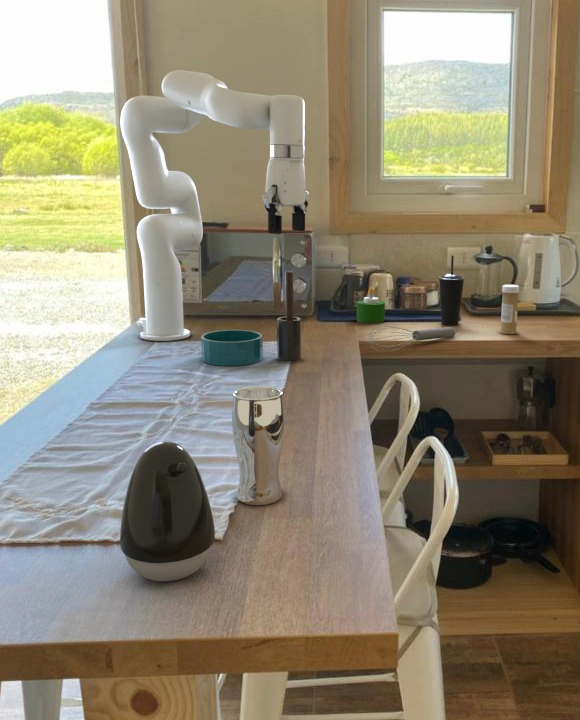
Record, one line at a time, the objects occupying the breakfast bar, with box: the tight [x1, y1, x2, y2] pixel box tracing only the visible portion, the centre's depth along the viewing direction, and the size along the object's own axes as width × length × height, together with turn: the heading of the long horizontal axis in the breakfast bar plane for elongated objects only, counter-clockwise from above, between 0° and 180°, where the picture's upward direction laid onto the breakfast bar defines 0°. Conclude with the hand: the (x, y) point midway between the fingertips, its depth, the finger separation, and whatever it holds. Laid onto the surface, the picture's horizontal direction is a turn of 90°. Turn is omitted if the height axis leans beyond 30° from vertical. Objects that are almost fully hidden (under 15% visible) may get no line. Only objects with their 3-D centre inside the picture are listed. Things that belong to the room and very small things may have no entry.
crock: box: [276, 316, 302, 363], centre depth 187 cm, size 5×6×10 cm
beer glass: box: [231, 385, 285, 506], centre depth 110 cm, size 7×7×15 cm
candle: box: [356, 286, 386, 324], centre depth 237 cm, size 8×8×10 cm
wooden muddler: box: [284, 270, 295, 320], centre depth 186 cm, size 2×2×20 cm
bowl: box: [200, 329, 264, 367], centre depth 186 cm, size 14×14×6 cm
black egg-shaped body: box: [119, 441, 216, 582], centre depth 89 cm, size 10×10×15 cm
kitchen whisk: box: [366, 325, 459, 353], centre depth 207 cm, size 6×34×6 cm, turn 136°
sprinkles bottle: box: [499, 284, 520, 335], centre depth 223 cm, size 5×5×13 cm
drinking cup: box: [438, 254, 466, 326], centre depth 234 cm, size 8×8×20 cm
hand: (287, 232), depth 181 cm, fingers open, 9 cm apart
